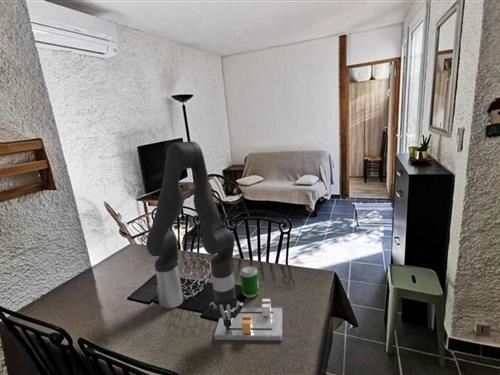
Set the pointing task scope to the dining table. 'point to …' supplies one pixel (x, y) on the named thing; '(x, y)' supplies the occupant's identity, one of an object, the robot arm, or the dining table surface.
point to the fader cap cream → (266, 307)
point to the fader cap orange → (246, 323)
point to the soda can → (249, 281)
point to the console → (260, 326)
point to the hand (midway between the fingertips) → (228, 326)
